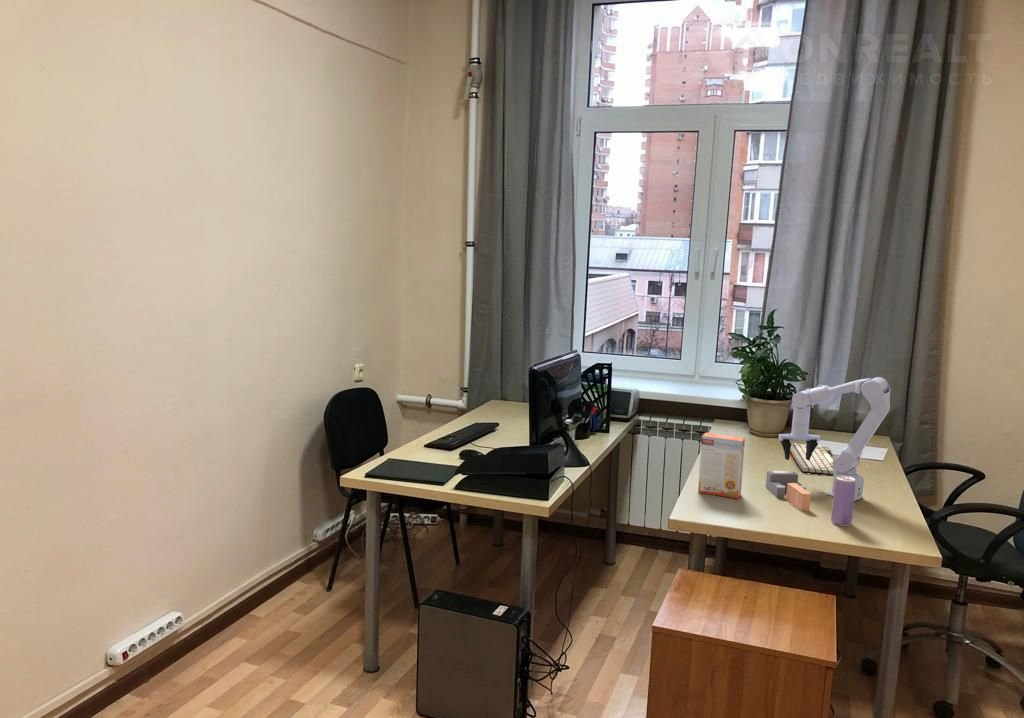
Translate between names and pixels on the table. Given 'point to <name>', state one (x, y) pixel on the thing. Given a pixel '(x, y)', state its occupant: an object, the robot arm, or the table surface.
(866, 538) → the table surface
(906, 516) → the table surface
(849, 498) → the beverage can
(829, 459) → the mechanical keyboard
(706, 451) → the cracker box
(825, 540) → the table surface
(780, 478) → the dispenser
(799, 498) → the salmon long block
